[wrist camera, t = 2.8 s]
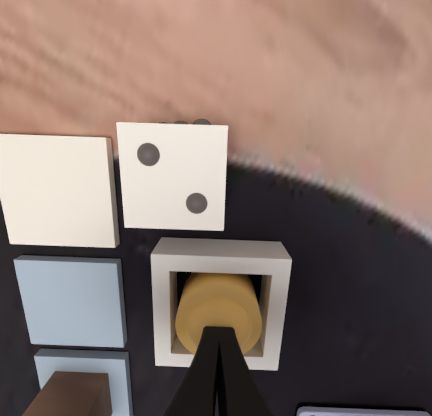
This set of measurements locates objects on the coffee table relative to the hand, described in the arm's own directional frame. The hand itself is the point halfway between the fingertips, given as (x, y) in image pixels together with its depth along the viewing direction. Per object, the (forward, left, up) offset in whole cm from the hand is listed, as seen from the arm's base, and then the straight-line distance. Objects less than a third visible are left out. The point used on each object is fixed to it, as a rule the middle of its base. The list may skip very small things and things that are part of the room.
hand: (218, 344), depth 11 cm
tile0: (+9, +8, -4) cm, 13 cm away
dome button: (0, 0, -4) cm, 4 cm away
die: (+2, -7, -4) cm, 9 cm away
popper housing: (0, 0, -4) cm, 4 cm away
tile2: (+9, -6, -4) cm, 12 cm away
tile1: (+9, +1, -4) cm, 10 cm away
